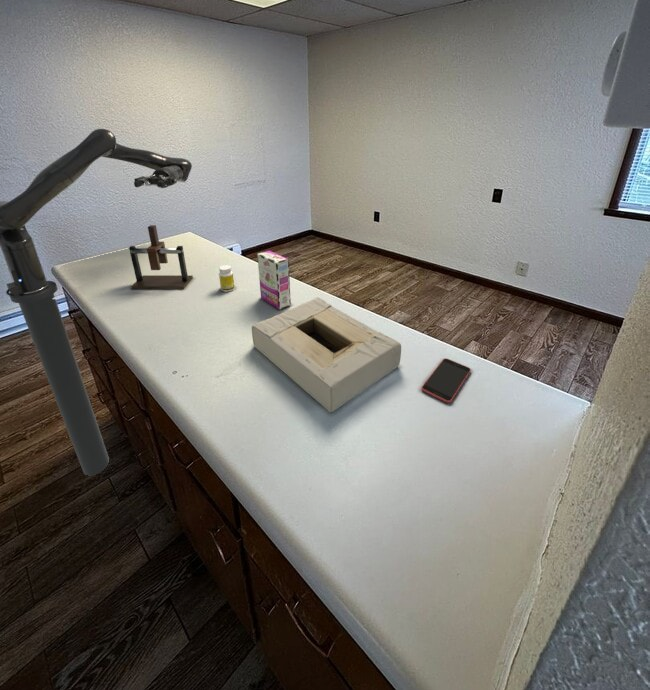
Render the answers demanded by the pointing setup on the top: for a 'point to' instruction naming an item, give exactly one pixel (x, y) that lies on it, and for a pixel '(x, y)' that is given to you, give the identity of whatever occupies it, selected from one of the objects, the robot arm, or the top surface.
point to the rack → (160, 280)
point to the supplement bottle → (226, 278)
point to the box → (326, 351)
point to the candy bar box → (274, 279)
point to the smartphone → (446, 380)
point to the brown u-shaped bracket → (155, 249)
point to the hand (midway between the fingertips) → (147, 184)
